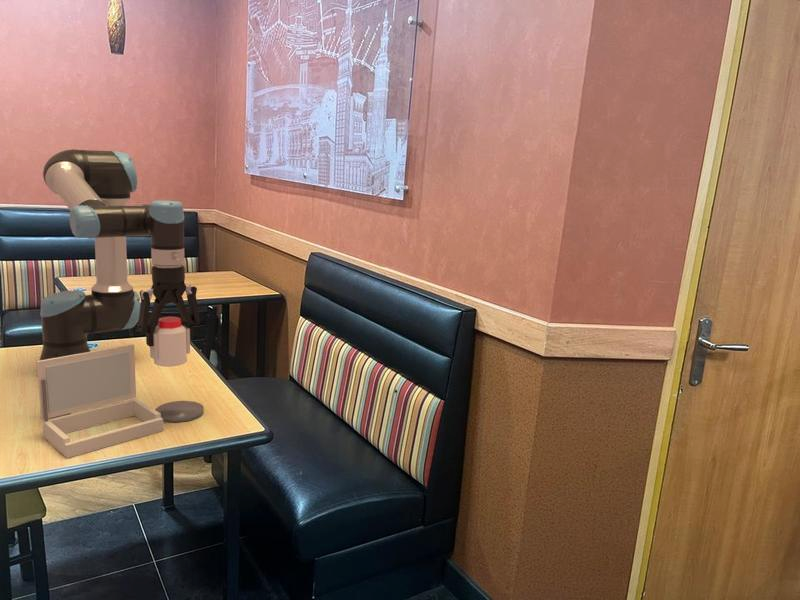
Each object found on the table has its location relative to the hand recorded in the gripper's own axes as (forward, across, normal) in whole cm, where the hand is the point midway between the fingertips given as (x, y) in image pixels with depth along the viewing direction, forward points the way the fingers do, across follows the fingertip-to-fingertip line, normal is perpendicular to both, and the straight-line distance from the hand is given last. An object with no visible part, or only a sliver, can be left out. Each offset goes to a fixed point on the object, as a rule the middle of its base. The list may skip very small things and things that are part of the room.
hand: (170, 355), depth 158 cm
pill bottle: (+2, 0, 0) cm, 2 cm away
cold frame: (+16, -17, 0) cm, 23 cm away
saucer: (+16, +2, 0) cm, 16 cm away
